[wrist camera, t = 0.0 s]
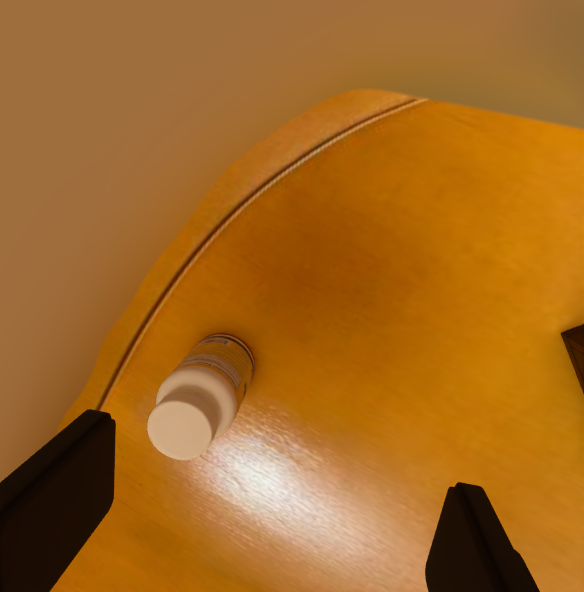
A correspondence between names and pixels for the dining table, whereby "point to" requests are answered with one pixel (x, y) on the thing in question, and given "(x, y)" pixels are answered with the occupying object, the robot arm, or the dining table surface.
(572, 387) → the dining table surface
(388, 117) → the dining table surface
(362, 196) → the dining table surface
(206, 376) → the supplement bottle
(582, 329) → the trash bin
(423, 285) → the dining table surface
